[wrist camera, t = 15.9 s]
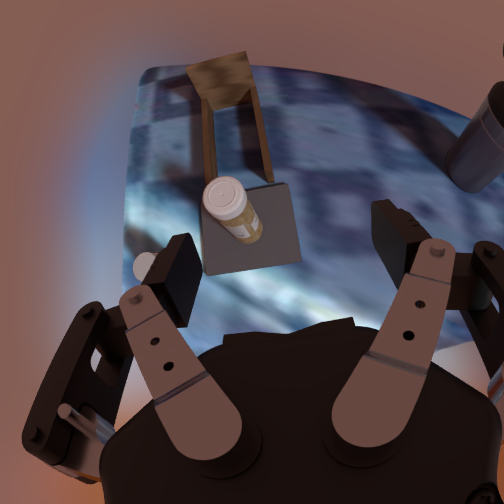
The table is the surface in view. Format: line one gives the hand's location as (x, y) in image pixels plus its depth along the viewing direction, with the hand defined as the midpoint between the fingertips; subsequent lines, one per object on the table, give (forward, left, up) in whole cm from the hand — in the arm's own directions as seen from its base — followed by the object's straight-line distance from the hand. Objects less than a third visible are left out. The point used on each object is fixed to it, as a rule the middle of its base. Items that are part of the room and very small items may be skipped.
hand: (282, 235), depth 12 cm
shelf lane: (+6, -26, -29) cm, 39 cm away
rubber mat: (+6, -10, -29) cm, 31 cm away
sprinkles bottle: (+6, -9, -28) cm, 30 cm away
